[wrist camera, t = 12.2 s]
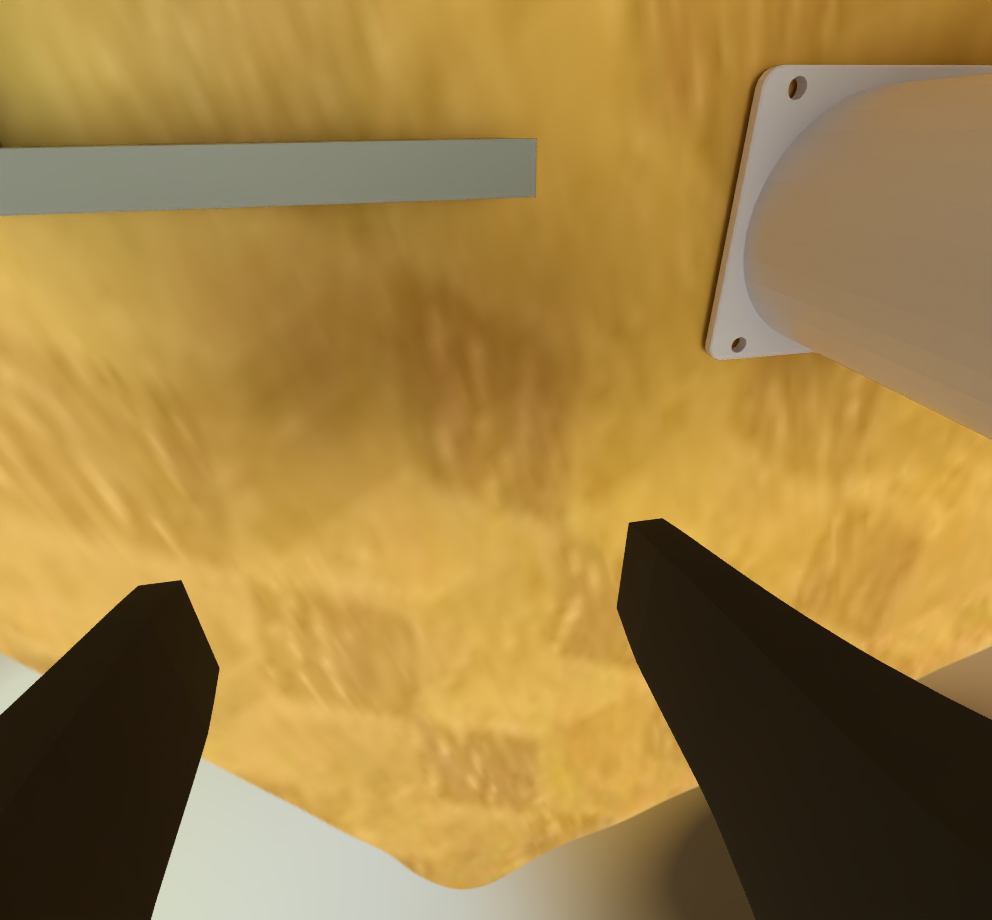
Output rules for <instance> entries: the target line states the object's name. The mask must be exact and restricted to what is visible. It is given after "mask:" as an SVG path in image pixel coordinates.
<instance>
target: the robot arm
mask: <svg viewBox="0 0 992 920" xmlns="http://www.w3.org/2000/svg"><path fill="white" fill-rule="evenodd" d="M794 78H795V80H796V82H797V90H796V93H795V95H794V96H793V97H792V98H791V99H790V97H789V95H788V88H789V85H790V83H791V81H792V80H793V79H794ZM737 338H740V341H739V343H738V345H737V346H736V347H734V348H732V349H731V345H732V343H733V341H735V340H736V339H737ZM705 349H706V351H707V354H709V355H710V356H712V357H713V358H715V359H716V360H728V359H740V358H752V357H764V356H775V355H787V354H799V353H811V352H817V353H819V354H821V355H823V356H825V357H827V358H829V359H831V360H833V361H835V362H837V363H839V364H841V365H843V366H845V367H847V368H849V369H851V370H853V371H855V372H857V373H859V374H861V375H863V376H865V377H867V378H869V379H871V380H873V381H875V382H877V383H879V384H881V385H883V386H885V387H887V388H889V389H891V390H893V391H895V392H897V393H899V394H901V395H903V396H905V397H907V398H909V399H911V400H913V401H915V402H917V403H919V404H921V405H923V406H925V407H927V408H929V409H931V410H933V411H935V412H937V413H939V414H941V415H943V416H945V417H947V418H949V419H951V420H953V421H955V422H957V423H959V424H961V425H963V426H965V427H967V428H969V429H971V430H973V431H975V432H977V433H979V434H981V435H983V436H985V437H987V438H989V439H991V440H992V65H780V66H775V67H771V68H769V69H768V70H766V71H765V72H764V73H763V74H762V76H761V77H760V78H759V80H758V82H757V85H756V88H755V92H754V97H753V103H752V108H751V113H750V118H749V123H748V128H747V133H746V139H745V144H744V149H743V154H742V159H741V164H740V169H739V174H738V180H737V185H736V190H735V195H734V200H733V205H732V210H731V216H730V221H729V226H728V231H727V236H726V241H725V246H724V251H723V257H722V262H721V267H720V272H719V277H718V282H717V287H716V293H715V298H714V303H713V308H712V313H711V318H710V323H709V328H708V334H707V339H706V344H705ZM617 610H618V613H619V616H620V619H621V621H622V624H623V627H624V630H625V633H626V636H627V638H628V641H629V644H630V646H631V649H632V652H633V654H634V657H635V659H636V662H637V664H638V666H639V668H640V670H641V672H642V674H643V676H644V678H645V680H646V682H647V684H648V686H649V688H650V690H651V692H652V694H653V696H654V698H655V700H656V702H657V704H658V706H659V708H660V710H661V712H662V714H663V716H664V718H665V720H666V722H667V723H668V725H669V727H670V729H671V731H672V733H673V735H674V737H675V739H676V741H677V743H678V745H679V747H680V749H681V751H682V753H683V755H684V757H685V759H686V761H687V762H688V764H689V766H690V768H691V770H692V772H693V774H694V776H695V778H696V780H697V782H698V784H699V786H700V788H701V790H702V792H703V794H704V796H705V798H706V800H707V803H708V805H709V807H710V809H711V811H712V813H713V815H714V818H715V820H716V822H717V824H718V827H719V829H720V831H721V834H722V837H723V839H724V842H725V844H726V846H727V849H728V851H729V854H730V856H731V859H732V861H733V864H734V866H735V868H736V871H737V873H738V876H739V878H740V881H741V883H742V886H743V888H744V891H745V893H746V896H747V898H748V901H749V904H750V906H751V909H752V911H753V914H754V917H755V919H756V920H992V720H991V719H989V718H987V717H985V716H983V715H980V714H979V713H977V712H975V711H973V710H971V709H969V708H967V707H965V706H963V705H961V704H959V703H957V702H955V701H953V700H951V699H949V698H947V697H945V696H943V695H941V694H939V693H938V692H935V691H934V690H932V689H930V688H928V687H926V686H925V685H923V684H921V683H919V682H917V681H915V680H914V679H912V678H910V677H908V676H906V675H904V674H903V673H901V672H899V671H897V670H895V669H893V668H892V667H890V666H888V665H886V664H884V663H882V662H881V661H879V660H877V659H875V658H874V657H872V656H870V655H868V654H867V653H865V652H863V651H862V650H860V649H858V648H856V647H855V646H853V645H851V644H850V643H848V642H846V641H845V640H843V639H842V638H840V637H838V636H837V635H835V634H834V633H832V632H830V631H829V630H827V629H825V628H824V627H822V626H821V625H819V624H817V623H816V622H814V621H812V620H811V619H809V618H808V617H806V616H804V615H803V614H801V613H800V612H798V611H797V610H795V609H794V608H792V607H791V606H789V605H788V604H786V603H784V602H783V601H781V600H780V599H778V598H777V597H775V596H774V595H772V594H771V593H769V592H768V591H767V590H765V589H764V588H762V587H761V586H759V585H758V584H756V583H755V582H753V581H752V580H750V579H749V578H747V577H746V576H745V575H743V574H742V573H740V572H739V571H737V570H736V569H735V568H733V567H732V566H730V565H729V564H727V563H726V562H725V561H723V560H722V559H720V558H719V557H718V556H716V555H715V554H713V553H712V552H710V551H709V550H708V549H706V548H705V547H703V546H702V545H701V544H699V543H698V542H696V541H695V540H694V539H692V538H691V537H689V536H688V535H686V534H685V533H684V532H682V531H681V530H679V529H678V528H676V527H675V526H673V525H672V524H670V523H669V522H667V521H666V520H664V519H663V518H661V519H653V520H645V521H637V522H630V523H629V525H628V532H627V539H626V546H625V553H624V560H623V567H622V574H621V581H620V588H619V595H618V602H617ZM218 674H219V666H218V664H217V661H216V659H215V657H214V654H213V652H212V650H211V647H210V645H209V643H208V641H207V638H206V636H205V634H204V631H203V629H202V627H201V624H200V622H199V620H198V618H197V615H196V613H195V611H194V608H193V606H192V604H191V601H190V599H189V597H188V594H187V592H186V590H185V588H184V585H183V583H182V581H181V580H179V581H171V582H163V583H156V584H148V585H140V586H138V587H136V588H135V589H134V590H133V591H132V592H131V593H130V594H128V595H127V596H126V597H125V598H124V599H123V600H122V601H121V602H120V603H119V604H117V605H116V606H115V607H114V608H113V609H112V610H111V611H110V612H109V613H108V614H107V615H106V616H105V617H104V618H103V619H102V620H100V621H99V622H98V623H97V624H96V625H95V626H94V627H93V628H92V629H91V630H90V631H89V632H88V633H87V634H86V635H85V636H84V637H83V638H82V639H81V640H80V641H78V642H77V643H76V644H75V645H74V646H73V647H72V648H71V649H70V650H69V651H68V652H67V653H66V654H65V655H64V656H63V657H62V658H61V659H60V660H59V661H58V662H56V663H55V664H54V665H53V666H52V667H51V668H50V669H49V670H48V671H47V672H46V673H45V674H44V675H43V676H42V677H40V678H39V679H38V680H37V681H36V682H35V683H34V684H33V685H32V686H31V687H30V688H29V689H28V690H27V691H26V692H25V693H23V695H21V696H20V697H19V698H18V699H17V700H16V701H15V702H14V703H13V704H12V705H11V706H10V707H9V708H8V709H7V710H5V711H4V712H3V713H2V714H1V715H0V920H151V917H152V913H153V910H154V906H155V903H156V900H157V896H158V893H159V890H160V887H161V884H162V880H163V877H164V874H165V871H166V868H167V865H168V861H169V858H170V855H171V852H172V849H173V845H174V842H175V839H176V835H177V833H178V829H179V826H180V823H181V820H182V816H183V814H184V810H185V807H186V804H187V801H188V798H189V794H190V791H191V788H192V785H193V781H194V778H195V775H196V772H197V768H198V765H199V762H200V759H201V755H202V752H203V749H204V745H205V742H206V738H207V735H208V730H209V725H210V720H211V715H212V710H213V705H214V699H215V693H216V687H217V680H218Z"/></svg>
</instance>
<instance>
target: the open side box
mask: <svg viewBox="0 0 992 920" xmlns="http://www.w3.org/2000/svg"><path fill="white" fill-rule="evenodd" d="M536 147H537V139H532V138H462V139H408V140H354V141H300V142H246V143H192V144H138V145H84V146H30V147H2V146H1V144H0V216H9V215H37V214H66V213H94V212H123V211H151V210H180V209H208V208H237V207H265V206H294V205H322V204H351V203H379V202H408V201H436V200H465V199H493V198H522V197H535V194H536Z"/></svg>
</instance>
